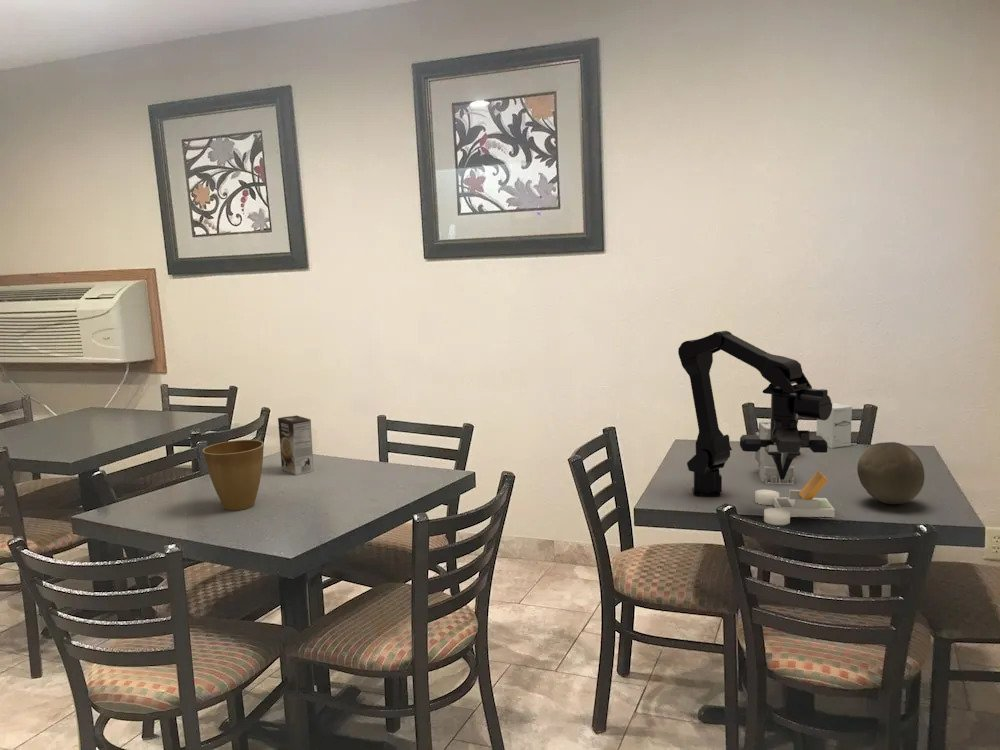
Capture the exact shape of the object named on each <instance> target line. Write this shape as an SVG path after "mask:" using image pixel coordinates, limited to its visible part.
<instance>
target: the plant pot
mask: <svg viewBox="0 0 1000 750" xmlns="http://www.w3.org/2000/svg"><path fill="white" fill-rule="evenodd" d="M264 446H265V444H264V441H262V440H257V439H239V440H238V439H237V440H230V441H223V442H219V443H214V444H210V445H208V446H206V447H204V448H203V449H202V453H203V459H204V461H205V465H206V468H207V472H208V475H209V477H210V480H211V483H212V485H213V487H214V490H215V492H216V494H217V496H218V498H219V501H220V503H221V504H222V506H223V508H224V510H226V511H236V512H237V511H243V510H246V509H249V508H252V507H253V506H255V503H256V500H257V496H258V492H259V488H260V484H261V477H262V471H263V470H262V469H263V463H264V461H263V460H264V448H265V447H264Z"/></svg>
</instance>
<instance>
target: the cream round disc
mask: <svg viewBox="0 0 1000 750" xmlns="http://www.w3.org/2000/svg"><path fill="white" fill-rule="evenodd" d="M763 521H764V523H766V524H768V525H773V526H785V525H788V524H790V523H791V517H790V511H788V510H786V509H782V508H774V507H768V508H764V511H763Z"/></svg>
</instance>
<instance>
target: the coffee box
mask: <svg viewBox="0 0 1000 750" xmlns="http://www.w3.org/2000/svg"><path fill="white" fill-rule="evenodd" d="M277 420H278V421H277V422H278V435H279V447H280V462H281V470H282V471H284V472H286V473H289V474H291V475H293V476H298V475H303V474H308V473H313V472H314V471H315V470H314V469H315V468H314V456H313V455H314V454H313V437H312V420H311V419H310V418H307V417H303V416H300V415H296V414H295V415H289V416H283V417H282V416H281V417H278V418H277Z"/></svg>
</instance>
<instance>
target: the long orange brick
mask: <svg viewBox="0 0 1000 750" xmlns="http://www.w3.org/2000/svg"><path fill="white" fill-rule="evenodd" d="M828 481H829V480H828V479H827V477H826V476H825V475H824V473H822V472H820V471H818V470H817V471H816V473H815V474H814V475H813V476H812V478H811V479H810V480H809V481H808V482H807V483H806V484H805V485H804V486H803V488H802V489H800V490H801V491H800V493H799V497H800V499H810V500H812V499H813V498H815V497H816V495H817V494H818V493H819V492H821V490H822V489H823V487H824V486H825V485H826V484H827V483H828Z"/></svg>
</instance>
